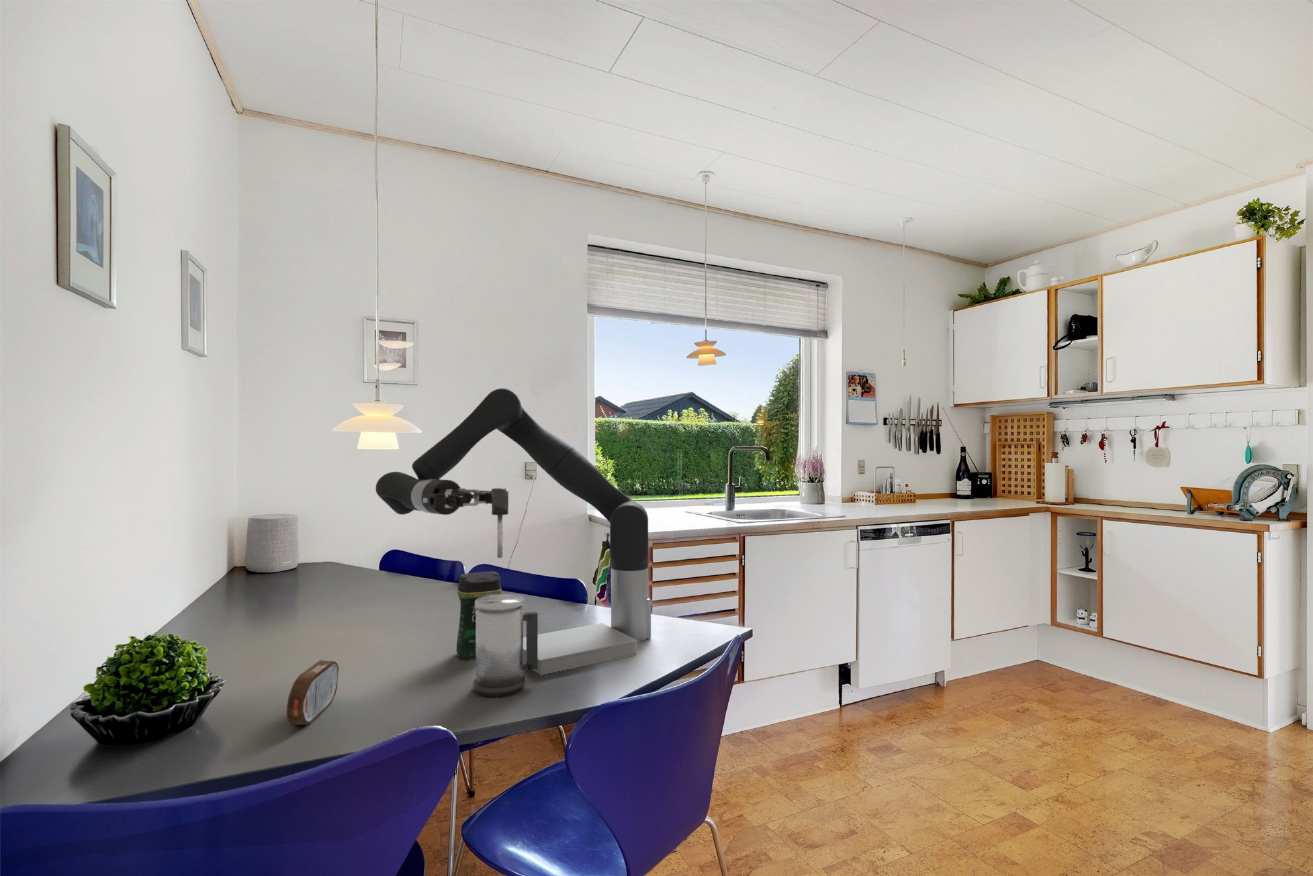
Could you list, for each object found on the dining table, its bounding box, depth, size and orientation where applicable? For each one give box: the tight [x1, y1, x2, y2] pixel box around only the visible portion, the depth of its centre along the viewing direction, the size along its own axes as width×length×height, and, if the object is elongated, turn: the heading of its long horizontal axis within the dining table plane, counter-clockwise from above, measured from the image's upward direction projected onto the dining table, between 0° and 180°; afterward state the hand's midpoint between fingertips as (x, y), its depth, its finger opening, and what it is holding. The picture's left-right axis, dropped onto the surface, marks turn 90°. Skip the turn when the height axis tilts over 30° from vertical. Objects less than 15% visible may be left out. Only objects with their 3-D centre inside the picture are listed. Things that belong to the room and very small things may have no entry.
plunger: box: [491, 487, 509, 559], centre depth 124 cm, size 3×3×14 cm
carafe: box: [473, 593, 539, 699], centre depth 124 cm, size 12×10×17 cm
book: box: [523, 622, 639, 676], centre depth 144 cm, size 18×4×24 cm
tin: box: [286, 659, 340, 726], centre depth 112 cm, size 15×3×8 cm, turn 5°
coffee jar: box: [456, 571, 502, 660], centre depth 144 cm, size 10×8×19 cm
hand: (480, 500), depth 128 cm, fingers open, 8 cm apart
